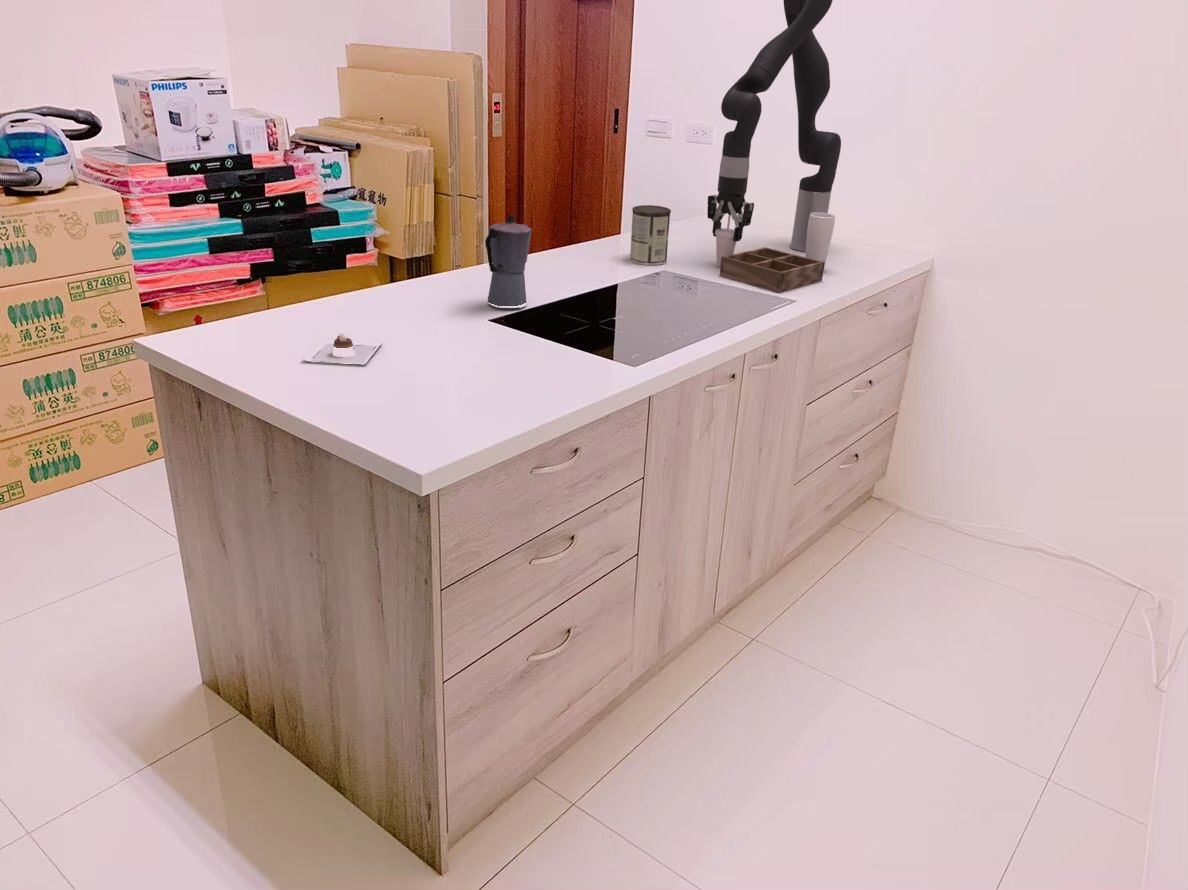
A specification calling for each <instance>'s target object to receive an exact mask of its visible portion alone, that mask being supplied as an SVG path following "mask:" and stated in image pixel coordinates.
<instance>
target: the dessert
mask: <svg viewBox="0 0 1188 890" xmlns="http://www.w3.org/2000/svg"><path fill="white" fill-rule="evenodd" d="M334 340H335V341H334V344H332V345H333V346H334V347H336V348H349V347H352V346H353V343H352V341H353V340H352V339H351V338H349V337H347V336H346V335H345V334H344V333H343V332H342V333H341V334H338V335H337V336H336V339H334ZM333 346H332V347H333Z"/></svg>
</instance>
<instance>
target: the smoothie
mask: <svg viewBox="0 0 1188 890" xmlns="http://www.w3.org/2000/svg"><path fill="white" fill-rule="evenodd" d="M727 217H728V218H727V227H726V228H724V227H721V229H716V232H715V234H716V237H715V242H716V243H715V244H716V248H715V251H716V253H715V254H716V260H715V261H716V267H717V268H719V269H720V266H721V257H724V256H728V255H733V254H735V248H736V245H737V242H735V241H733V238H734V230H735V228H730V224H731V223H730V222H731V218H732V216H731V215H729V214H728V216H727Z"/></svg>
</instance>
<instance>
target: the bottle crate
mask: <svg viewBox="0 0 1188 890" xmlns="http://www.w3.org/2000/svg"><path fill="white" fill-rule="evenodd" d="M824 265H825V266H826V262H822V261H818V260H814V259H810V258H806V257H805V256H801V255H798V254H793V253H789V252H787V251H786V252H785V251H782V250H777V249H774V248H770V247H761V248H757V249H751V250H746V251H743V252H738V253H733V255H728V256H724V257H721V266H720V268H719V277H723V278H726V279H730V280H732V281H736V282H740V283H742V282H743V283H744V284H747V285H750V286H754V287H756V286H757V287H756V288H760V287H761V289H763V288H764V290H767V289H768V291H770V290H771V291H772V292H774V293H778V294H780V292H781V293H785V292H788V291H791V289H792V290H795V289H799V288H802V286H803V287H806V286H810V285H813V284H816V283H815V282H817V283H820V282H819V281H821V282H823V278H824V277H823V276H824V271H825V267H824ZM809 284H810V285H809ZM805 285H806V286H805ZM787 290H788V291H787ZM784 291H785V292H784Z"/></svg>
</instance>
